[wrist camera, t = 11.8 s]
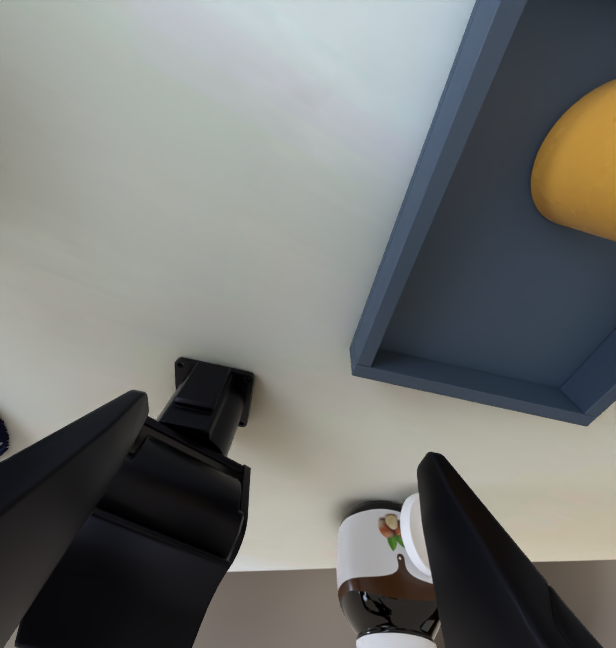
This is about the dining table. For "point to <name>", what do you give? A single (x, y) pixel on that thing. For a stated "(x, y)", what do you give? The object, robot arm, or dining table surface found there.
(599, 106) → the tapered yellow cylinder
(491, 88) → the blue tray
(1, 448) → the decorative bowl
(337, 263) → the dining table surface
